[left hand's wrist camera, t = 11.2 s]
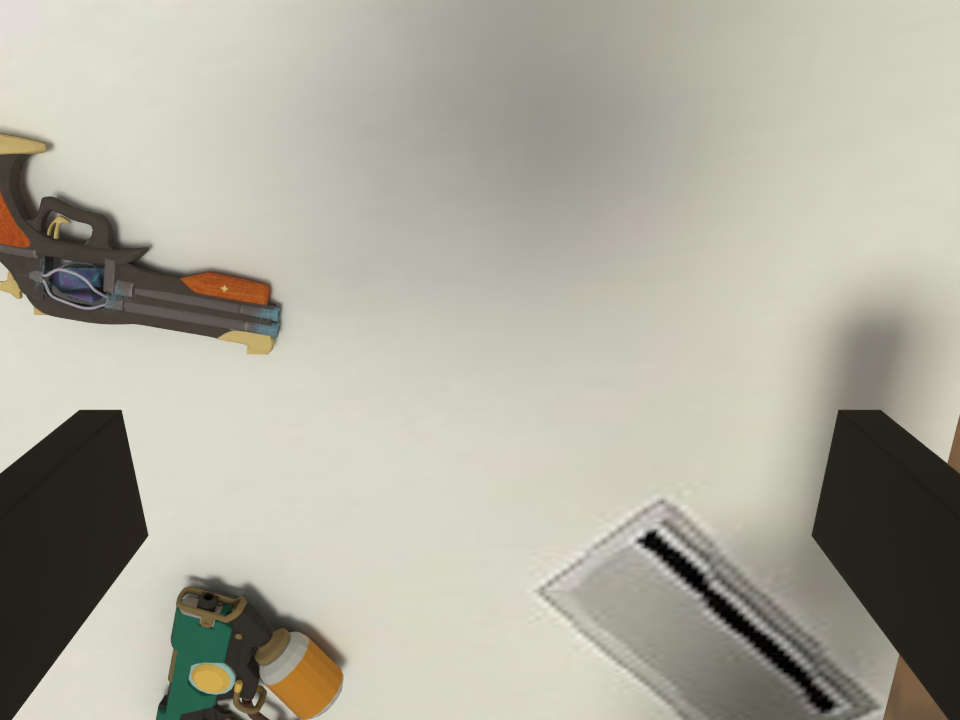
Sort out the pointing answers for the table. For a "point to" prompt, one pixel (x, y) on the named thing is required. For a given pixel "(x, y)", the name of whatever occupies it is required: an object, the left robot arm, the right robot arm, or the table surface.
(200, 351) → the table surface
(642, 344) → the table surface
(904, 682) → the bar
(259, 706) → the spray gun
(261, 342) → the toy gun
